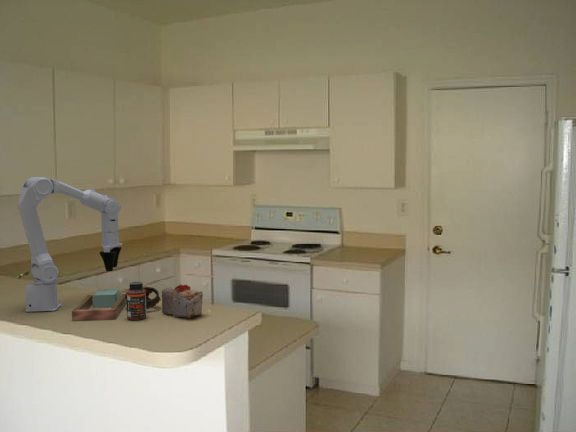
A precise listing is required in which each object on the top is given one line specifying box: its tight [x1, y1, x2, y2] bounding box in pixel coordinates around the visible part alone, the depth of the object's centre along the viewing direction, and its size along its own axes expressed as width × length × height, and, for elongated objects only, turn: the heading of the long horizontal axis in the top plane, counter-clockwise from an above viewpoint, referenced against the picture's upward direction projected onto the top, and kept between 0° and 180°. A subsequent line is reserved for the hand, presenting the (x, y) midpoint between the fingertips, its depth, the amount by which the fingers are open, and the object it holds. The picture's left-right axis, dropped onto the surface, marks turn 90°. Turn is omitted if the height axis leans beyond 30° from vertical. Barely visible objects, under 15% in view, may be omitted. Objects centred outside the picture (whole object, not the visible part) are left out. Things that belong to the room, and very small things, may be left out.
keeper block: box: [93, 288, 121, 308], centre depth 200 cm, size 7×9×4 cm
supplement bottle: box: [125, 281, 147, 321], centre depth 181 cm, size 6×6×11 cm
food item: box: [161, 283, 204, 319], centre depth 185 cm, size 14×8×10 cm, turn 57°
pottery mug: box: [124, 286, 162, 310], centre depth 193 cm, size 12×10×8 cm
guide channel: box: [71, 293, 127, 322], centre depth 190 cm, size 13×22×3 cm, turn 6°
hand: (111, 269), depth 208 cm, fingers open, 7 cm apart
